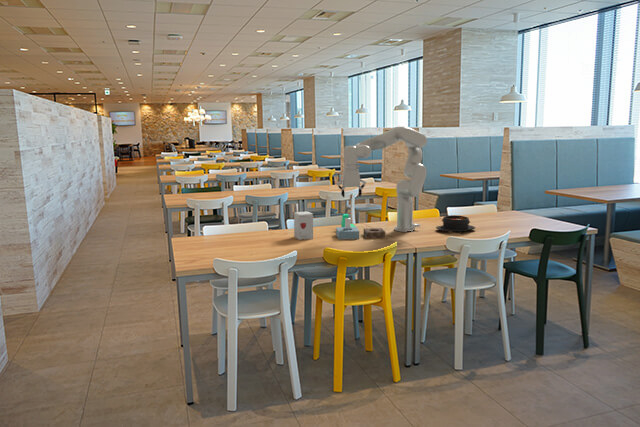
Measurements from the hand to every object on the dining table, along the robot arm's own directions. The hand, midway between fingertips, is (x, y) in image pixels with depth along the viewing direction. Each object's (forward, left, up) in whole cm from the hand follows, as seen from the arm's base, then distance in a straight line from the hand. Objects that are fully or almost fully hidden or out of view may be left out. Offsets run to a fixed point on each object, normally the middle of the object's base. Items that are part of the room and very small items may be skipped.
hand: (351, 196), depth 286 cm
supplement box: (+29, +2, -24) cm, 37 cm away
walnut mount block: (-13, +2, -24) cm, 27 cm away
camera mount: (-1, -16, -24) cm, 29 cm away
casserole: (-66, -7, -24) cm, 71 cm away
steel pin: (+3, +2, -24) cm, 24 cm away
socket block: (+3, +2, -24) cm, 24 cm away
